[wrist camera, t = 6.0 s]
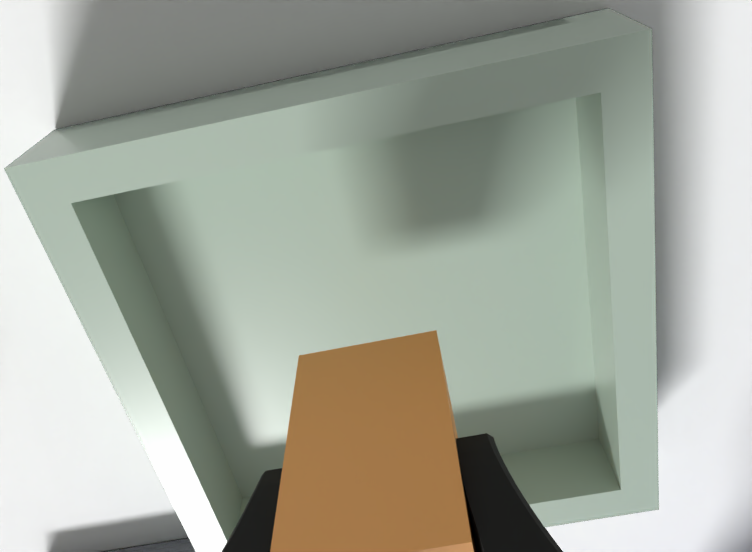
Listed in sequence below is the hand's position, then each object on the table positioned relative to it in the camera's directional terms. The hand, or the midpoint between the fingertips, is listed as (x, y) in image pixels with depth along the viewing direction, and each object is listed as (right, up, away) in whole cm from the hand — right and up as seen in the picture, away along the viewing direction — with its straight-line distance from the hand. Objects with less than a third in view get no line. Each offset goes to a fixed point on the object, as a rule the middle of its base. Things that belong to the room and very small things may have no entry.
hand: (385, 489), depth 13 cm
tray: (0, +3, +6) cm, 7 cm away
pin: (0, +1, +2) cm, 3 cm away
